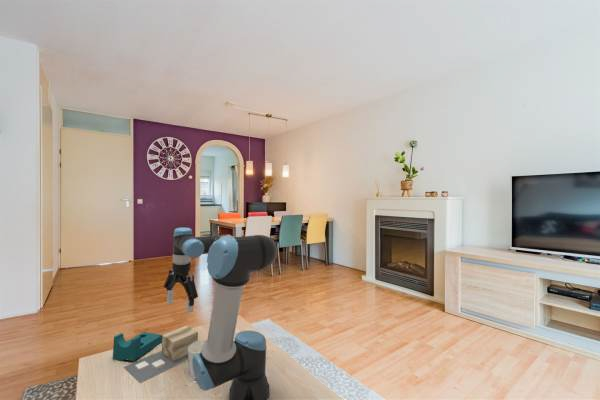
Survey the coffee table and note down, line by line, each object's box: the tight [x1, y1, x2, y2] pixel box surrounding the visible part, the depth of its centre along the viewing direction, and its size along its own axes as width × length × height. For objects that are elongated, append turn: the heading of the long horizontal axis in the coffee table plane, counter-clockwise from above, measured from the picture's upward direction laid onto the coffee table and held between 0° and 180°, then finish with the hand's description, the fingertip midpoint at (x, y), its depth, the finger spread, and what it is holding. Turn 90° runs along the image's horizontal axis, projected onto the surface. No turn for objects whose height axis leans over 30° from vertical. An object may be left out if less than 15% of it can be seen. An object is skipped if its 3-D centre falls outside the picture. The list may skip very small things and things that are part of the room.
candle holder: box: [187, 340, 206, 382], centre depth 118 cm, size 10×10×12 cm
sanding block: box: [161, 325, 199, 363], centre depth 131 cm, size 10×12×9 cm
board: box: [123, 350, 188, 384], centre depth 126 cm, size 16×28×2 cm, turn 143°
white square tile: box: [135, 361, 149, 371], centre depth 120 cm, size 4×4×1 cm
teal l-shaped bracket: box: [112, 331, 163, 362], centre depth 133 cm, size 18×11×10 cm, turn 168°
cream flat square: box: [152, 359, 165, 369], centre depth 122 cm, size 4×4×1 cm
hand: (179, 307), depth 128 cm, fingers open, 13 cm apart
